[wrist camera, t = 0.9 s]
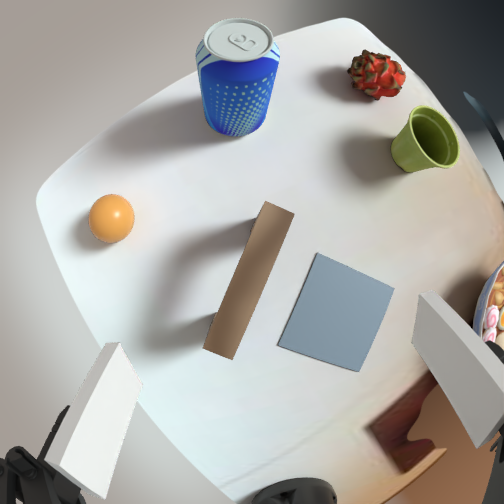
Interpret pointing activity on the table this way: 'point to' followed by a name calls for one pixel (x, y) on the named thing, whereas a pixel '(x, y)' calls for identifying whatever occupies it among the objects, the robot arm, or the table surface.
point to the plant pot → (425, 142)
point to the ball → (111, 218)
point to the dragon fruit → (376, 75)
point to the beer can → (237, 74)
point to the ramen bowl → (491, 309)
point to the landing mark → (337, 314)
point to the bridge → (248, 280)
